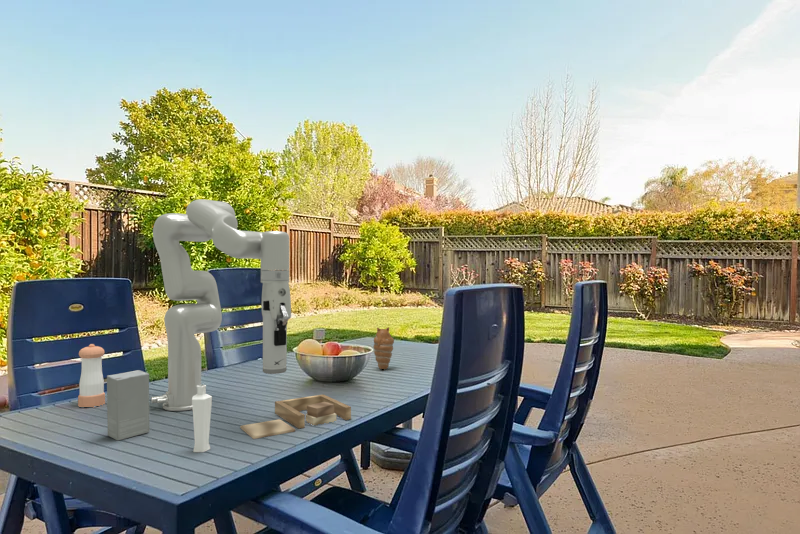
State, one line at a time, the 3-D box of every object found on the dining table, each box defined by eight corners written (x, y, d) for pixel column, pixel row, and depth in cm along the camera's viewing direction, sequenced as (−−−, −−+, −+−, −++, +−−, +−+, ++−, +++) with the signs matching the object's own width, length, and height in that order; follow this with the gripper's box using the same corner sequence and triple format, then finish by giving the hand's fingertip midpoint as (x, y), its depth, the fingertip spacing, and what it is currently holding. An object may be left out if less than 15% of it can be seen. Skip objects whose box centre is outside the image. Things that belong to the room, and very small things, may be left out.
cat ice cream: (375, 372, 214) (375, 328, 214) (370, 368, 222) (370, 326, 222) (396, 370, 217) (396, 327, 217) (390, 367, 225) (390, 326, 225)
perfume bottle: (214, 446, 124) (214, 383, 124) (208, 452, 120) (208, 387, 120) (195, 446, 124) (195, 383, 124) (188, 452, 120) (188, 387, 120)
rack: (299, 428, 138) (298, 415, 138) (274, 413, 153) (274, 401, 153) (350, 419, 146) (350, 406, 146) (323, 405, 161) (323, 394, 161)
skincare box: (138, 428, 139) (138, 369, 139) (151, 433, 134) (151, 372, 134) (104, 436, 132) (104, 374, 132) (116, 442, 128) (116, 377, 128)
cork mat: (253, 439, 129) (253, 436, 129) (240, 428, 139) (240, 425, 139) (295, 431, 135) (295, 429, 135) (279, 421, 145) (279, 419, 145)
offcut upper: (316, 417, 141) (316, 408, 141) (307, 414, 144) (307, 405, 144) (334, 413, 145) (334, 404, 145) (324, 410, 148) (324, 401, 148)
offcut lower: (313, 427, 140) (313, 418, 140) (305, 422, 145) (305, 413, 145) (336, 423, 144) (336, 414, 144) (328, 418, 148) (328, 410, 148)
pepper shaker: (79, 404, 165) (79, 343, 165) (105, 401, 168) (105, 342, 168) (77, 409, 158) (77, 346, 158) (104, 406, 161) (104, 344, 162)
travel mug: (282, 374, 136) (282, 298, 136) (258, 373, 137) (258, 298, 137) (291, 369, 142) (291, 297, 142) (268, 369, 144) (268, 296, 144)
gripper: (301, 277, 135) (301, 346, 135) (275, 276, 149) (275, 339, 149) (274, 277, 131) (273, 349, 131) (250, 276, 145) (250, 341, 145)
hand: (274, 343), depth 140 cm, fingers closed on travel mug, 6 cm apart
